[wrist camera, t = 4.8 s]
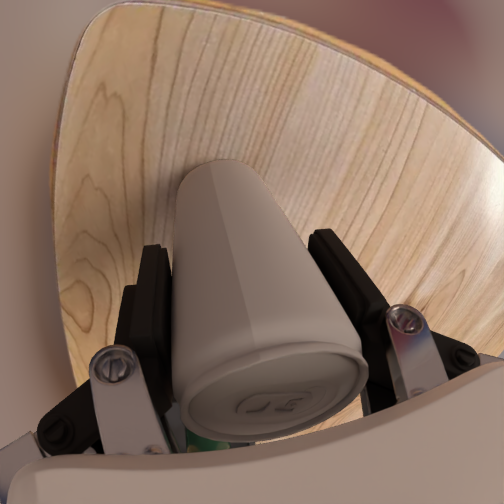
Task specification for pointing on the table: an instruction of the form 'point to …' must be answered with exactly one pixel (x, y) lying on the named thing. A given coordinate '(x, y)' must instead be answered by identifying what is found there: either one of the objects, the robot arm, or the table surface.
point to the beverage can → (252, 315)
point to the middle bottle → (203, 443)
